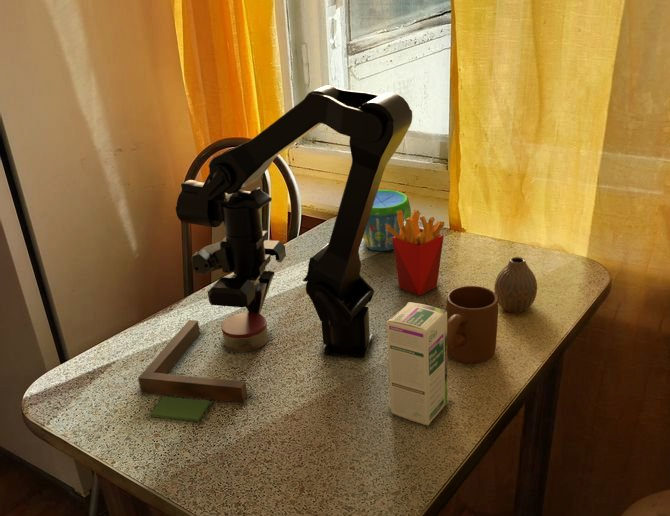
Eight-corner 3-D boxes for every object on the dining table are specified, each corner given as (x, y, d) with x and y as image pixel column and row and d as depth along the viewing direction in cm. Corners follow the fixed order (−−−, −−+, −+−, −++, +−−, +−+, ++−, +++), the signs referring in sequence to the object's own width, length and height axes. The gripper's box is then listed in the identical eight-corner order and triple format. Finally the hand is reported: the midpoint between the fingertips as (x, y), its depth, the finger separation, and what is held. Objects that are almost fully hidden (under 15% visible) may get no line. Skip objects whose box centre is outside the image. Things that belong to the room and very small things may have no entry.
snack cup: (369, 264, 130) (367, 215, 126) (337, 248, 138) (334, 201, 133) (427, 241, 139) (427, 194, 134) (393, 227, 146) (392, 183, 142)
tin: (274, 330, 110) (272, 313, 108) (259, 354, 103) (257, 336, 102) (233, 327, 111) (231, 310, 110) (217, 350, 105) (214, 333, 103)
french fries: (416, 275, 125) (415, 199, 118) (451, 288, 120) (452, 209, 113) (383, 291, 120) (381, 213, 113) (419, 306, 115) (418, 224, 108)
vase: (489, 313, 111) (491, 266, 107) (498, 295, 117) (500, 249, 113) (531, 319, 109) (535, 271, 105) (538, 300, 115) (542, 254, 110)
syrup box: (428, 427, 86) (429, 330, 79) (388, 413, 89) (385, 319, 82) (447, 403, 90) (449, 309, 84) (409, 391, 93) (408, 299, 87)
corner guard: (281, 340, 107) (280, 326, 106) (243, 402, 93) (241, 388, 91) (191, 332, 110) (188, 319, 109) (141, 392, 96) (137, 377, 95)
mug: (471, 386, 94) (473, 328, 89) (422, 372, 97) (422, 315, 93) (503, 345, 102) (506, 291, 98) (457, 333, 106) (459, 280, 102)
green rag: (210, 403, 93) (210, 401, 93) (198, 421, 89) (198, 419, 89) (164, 398, 94) (164, 396, 94) (150, 416, 91) (150, 414, 91)
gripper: (219, 206, 113) (232, 288, 120) (167, 252, 97) (185, 343, 104) (282, 209, 110) (291, 292, 118) (239, 257, 94) (252, 349, 102)
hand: (255, 317), depth 110 cm, fingers closed
